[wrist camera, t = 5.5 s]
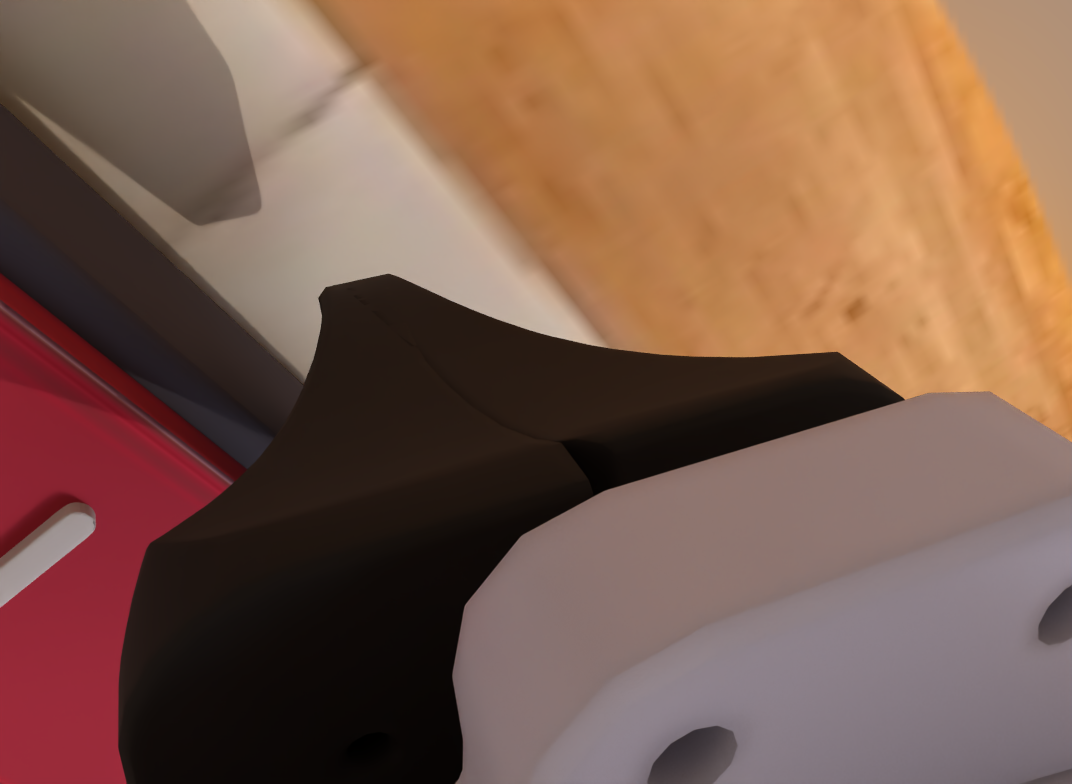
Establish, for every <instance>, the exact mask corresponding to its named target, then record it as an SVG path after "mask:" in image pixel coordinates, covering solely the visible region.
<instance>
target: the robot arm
mask: <svg viewBox="0 0 1072 784" xmlns="http://www.w3.org/2000/svg"><path fill="white" fill-rule="evenodd" d="M318 299H319V303H320V308H321V313H322V323H321V330H320V335H319V339H318V343H317V348H316V352H315V356H314V359H313V362H312V364H311V367H310V370H309V373H308V375H307V378H306V381H305V383H304V386H303V388H302V391H301V393H300V395H299V397H298V399H297V401H296V403H295V405H294V407H293V409H292V411H291V412H290V414H289V416H288V418H287V419H286V421H285V423H284V424H283V426H282V428H281V429H280V431H279V432H278V433H277V435H276V436H275V438H274V439H273V440H272V442H271V443H270V445H269V446H268V447H267V448H266V450H265V451H264V452H263V453H262V455H261V456H260V457H259V458H258V459H257V460H256V461H255V462H254V463H253V464H252V465H251V466H250V467H249V468H248V469H247V470H246V471H245V472H244V473H243V474H242V475H241V476H240V477H239V478H238V479H237V480H236V481H235V482H234V483H232V484H231V485H230V486H229V487H228V488H227V489H226V490H225V491H223V492H222V493H221V494H220V495H219V496H217V497H216V498H215V499H214V500H212V501H211V502H210V503H209V504H207V505H206V506H205V507H203V508H202V509H200V510H199V511H197V512H196V513H194V514H193V515H192V516H190V517H189V518H187V519H186V520H184V521H183V522H181V523H180V524H178V525H177V526H176V527H174V528H173V529H171V530H170V531H168V532H167V533H165V534H164V535H162V536H161V537H159V538H157V539H156V540H154V541H152V542H151V543H150V544H149V546H148V547H147V549H146V552H145V555H144V558H143V561H142V564H141V567H140V571H139V575H138V579H137V582H136V586H135V590H134V594H133V597H132V602H131V606H130V611H129V616H128V621H127V626H126V631H125V637H124V642H123V648H122V654H121V661H120V672H119V687H118V750H119V754H120V758H121V762H122V766H123V770H124V775H125V779H126V783H127V784H1072V442H1070V441H1069V440H1067V439H1065V438H1064V437H1062V436H1061V435H1059V434H1057V433H1056V432H1054V431H1052V430H1051V429H1049V428H1048V427H1046V426H1044V425H1043V424H1041V423H1040V422H1038V421H1036V420H1035V419H1033V418H1032V417H1030V416H1028V415H1027V414H1025V413H1023V412H1022V411H1020V410H1019V409H1017V408H1015V407H1014V406H1012V405H1011V404H1009V403H1007V402H1006V401H1004V400H1003V399H1001V398H999V397H998V396H996V395H994V394H993V393H991V392H951V393H927V394H924V395H921V396H917V397H914V398H911V399H907V400H904V398H903V397H901V396H900V395H898V394H897V393H895V392H894V391H893V390H891V389H890V388H888V387H887V386H886V385H884V384H883V383H881V382H880V381H878V380H877V379H876V378H874V377H873V376H871V375H870V374H868V373H867V372H866V371H864V370H863V369H861V368H860V367H859V366H857V365H856V364H854V363H853V362H851V361H850V360H849V359H847V358H846V357H844V356H843V355H842V354H840V353H839V352H828V353H812V354H796V355H780V356H764V357H689V356H673V355H659V354H650V353H641V352H633V351H625V350H616V349H610V348H604V347H598V346H592V345H587V344H582V343H578V342H573V341H569V340H565V339H560V338H556V337H552V336H547V335H544V334H540V333H537V332H533V331H530V330H527V329H524V328H521V327H518V326H515V325H512V324H509V323H506V322H503V321H500V320H497V319H494V318H492V317H489V316H487V315H484V314H481V313H479V312H476V311H474V310H471V309H469V308H467V307H464V306H462V305H459V304H457V303H455V302H453V301H450V300H448V299H446V298H444V297H441V296H439V295H437V294H435V293H433V292H430V291H428V290H426V289H424V288H422V287H420V286H417V285H415V284H413V283H411V282H409V281H406V280H404V279H402V278H400V277H397V276H394V275H391V274H385V275H380V276H376V277H371V278H366V279H362V280H357V281H353V282H348V283H343V284H339V285H334V286H329V287H326V288H325V289H324V291H323V292H322V293H321V295H320V296H319V298H318Z"/></svg>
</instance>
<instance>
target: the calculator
mask: <svg viewBox="0 0 1072 784" xmlns="http://www.w3.org/2000/svg"><path fill="white" fill-rule="evenodd" d="M302 388H303V385H302V384H301V383H300V382H299V381H298V380H297V379H296V378H295V377H294V376H293V375H292V374H291V373H289V372H288V371H287V370H286V369H285V368H284V367H283V366H282V365H281V364H280V363H279V362H278V361H277V360H275V359H274V358H273V357H272V356H271V355H270V354H269V353H268V352H267V351H266V350H265V349H264V348H263V347H262V346H260V345H259V344H258V343H257V342H256V341H255V340H254V339H253V338H252V337H251V336H250V335H249V334H248V333H246V332H245V331H244V330H243V329H242V328H241V327H240V326H239V325H238V324H237V323H236V322H235V321H234V320H233V319H231V318H230V317H229V316H228V315H227V314H226V313H225V312H224V311H223V310H222V309H221V308H220V307H219V306H217V305H216V304H215V303H214V302H213V301H212V300H211V299H210V298H209V297H208V296H207V295H206V294H205V293H203V292H202V291H201V290H200V289H199V288H198V287H197V286H196V285H195V284H194V283H193V282H192V281H191V280H190V279H188V278H187V277H186V276H185V275H184V274H183V273H182V272H181V271H180V270H179V269H178V268H177V267H176V266H174V265H173V264H172V263H171V262H170V261H169V260H168V259H167V258H166V257H165V256H164V255H163V254H162V253H161V252H159V251H158V250H157V249H156V248H155V247H154V246H153V245H152V244H151V243H150V242H149V241H148V240H147V239H145V238H144V237H143V236H142V235H141V234H140V233H139V232H138V231H137V230H136V229H135V228H134V227H133V226H132V225H130V224H129V223H128V222H127V221H126V220H125V219H124V218H123V217H122V216H121V215H120V214H119V213H118V212H116V211H115V210H114V209H113V208H112V207H111V206H110V205H109V204H108V203H107V202H106V201H105V200H104V199H103V198H101V197H100V196H99V195H98V194H97V193H96V192H95V191H94V190H93V189H92V188H91V187H90V186H89V185H87V184H86V183H85V182H84V181H83V180H82V179H81V178H80V177H79V176H78V175H77V174H76V173H75V172H74V171H72V170H71V169H70V168H69V167H68V166H67V165H66V164H65V163H64V162H63V161H62V160H61V159H60V158H58V157H57V156H56V155H55V154H54V153H53V152H52V151H51V150H50V149H49V148H48V147H47V146H46V145H45V144H43V143H42V142H41V141H40V140H39V139H38V138H37V137H36V136H35V135H34V134H33V133H32V132H31V131H29V130H28V129H27V128H26V127H25V126H24V125H23V124H22V123H21V122H20V121H19V120H18V119H17V118H16V117H14V116H13V115H12V114H11V113H10V112H9V111H8V110H7V109H6V108H5V107H4V106H3V105H2V104H0V784H127V783H126V779H125V775H124V770H123V766H122V762H121V758H120V754H119V750H118V687H119V672H120V661H121V654H122V648H123V642H124V637H125V631H126V626H127V621H128V616H129V611H130V606H131V602H132V597H133V594H134V590H135V586H136V582H137V579H138V575H139V571H140V567H141V564H142V561H143V558H144V555H145V552H146V549H147V547H148V546H149V544H150V543H151V542H152V541H154V540H156V539H157V538H159V537H161V536H162V535H164V534H165V533H167V532H168V531H170V530H171V529H173V528H174V527H176V526H177V525H178V524H180V523H181V522H183V521H184V520H186V519H187V518H189V517H190V516H192V515H193V514H194V513H196V512H197V511H199V510H200V509H202V508H203V507H205V506H206V505H207V504H209V503H210V502H211V501H212V500H214V499H215V498H216V497H217V496H219V495H220V494H221V493H222V492H223V491H225V490H226V489H227V488H228V487H229V486H230V485H231V484H232V483H234V482H235V481H236V480H237V479H238V478H239V477H240V476H241V475H242V474H243V473H244V472H245V471H246V470H247V469H248V468H249V467H250V466H251V465H252V464H253V463H254V462H255V461H256V460H257V459H258V458H259V457H260V456H261V455H262V453H263V452H264V451H265V450H266V448H267V447H268V446H269V445H270V443H271V442H272V440H273V439H274V438H275V436H276V435H277V433H278V432H279V431H280V429H281V428H282V426H283V424H284V423H285V421H286V419H287V418H288V416H289V414H290V412H291V411H292V409H293V407H294V405H295V403H296V401H297V399H298V397H299V395H300V393H301V391H302Z"/></svg>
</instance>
